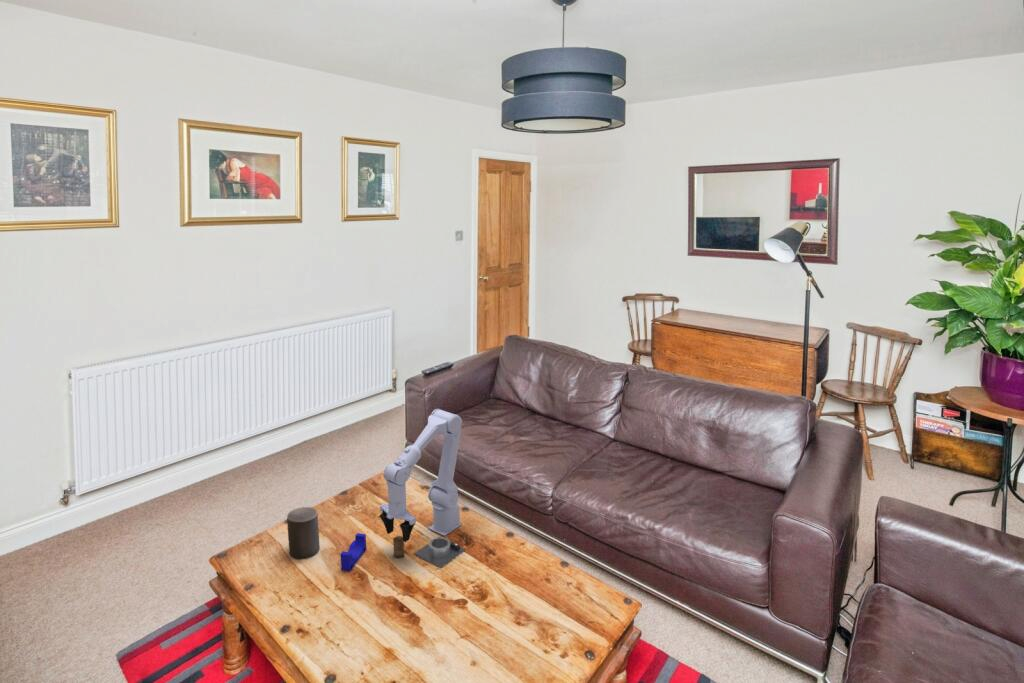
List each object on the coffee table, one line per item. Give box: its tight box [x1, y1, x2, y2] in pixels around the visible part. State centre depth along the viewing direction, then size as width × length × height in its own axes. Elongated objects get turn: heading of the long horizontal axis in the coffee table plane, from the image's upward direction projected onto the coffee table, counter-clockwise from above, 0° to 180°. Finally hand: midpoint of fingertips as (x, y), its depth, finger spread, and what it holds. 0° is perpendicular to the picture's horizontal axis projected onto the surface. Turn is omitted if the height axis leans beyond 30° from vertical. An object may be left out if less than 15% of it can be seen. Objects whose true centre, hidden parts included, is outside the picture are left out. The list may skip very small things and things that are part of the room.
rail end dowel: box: [392, 535, 405, 559], centre depth 195 cm, size 4×4×6 cm
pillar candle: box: [286, 506, 321, 560], centre depth 196 cm, size 10×10×15 cm
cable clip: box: [340, 532, 367, 572], centre depth 193 cm, size 12×4×6 cm, turn 169°
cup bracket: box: [413, 535, 466, 569], centre depth 197 cm, size 12×12×4 cm
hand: (398, 536), depth 194 cm, fingers open, 7 cm apart
